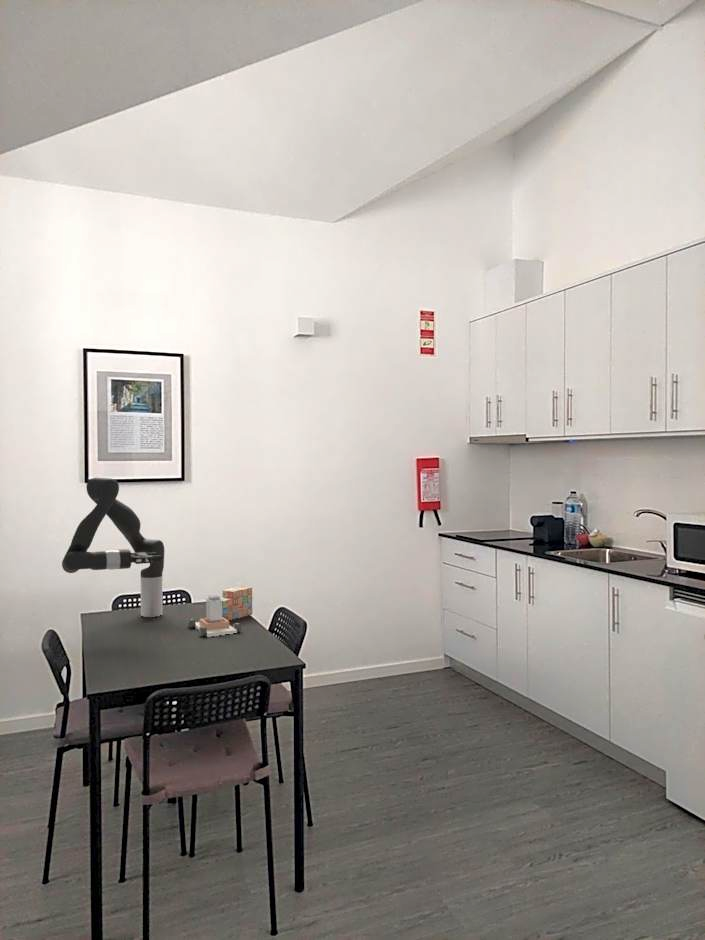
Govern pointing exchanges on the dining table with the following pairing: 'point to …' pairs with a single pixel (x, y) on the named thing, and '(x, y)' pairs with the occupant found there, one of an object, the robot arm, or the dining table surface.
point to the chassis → (214, 627)
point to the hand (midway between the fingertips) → (159, 556)
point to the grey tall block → (213, 609)
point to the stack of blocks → (237, 602)
